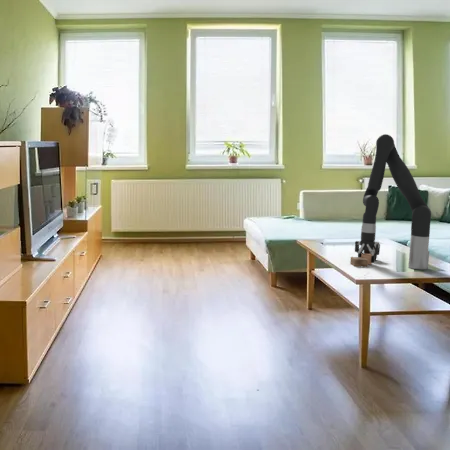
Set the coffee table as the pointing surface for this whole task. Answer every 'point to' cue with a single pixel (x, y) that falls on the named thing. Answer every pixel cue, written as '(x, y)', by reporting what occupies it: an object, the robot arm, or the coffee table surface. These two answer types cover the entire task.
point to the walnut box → (358, 261)
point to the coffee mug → (369, 251)
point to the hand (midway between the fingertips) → (366, 261)
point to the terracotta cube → (367, 257)
